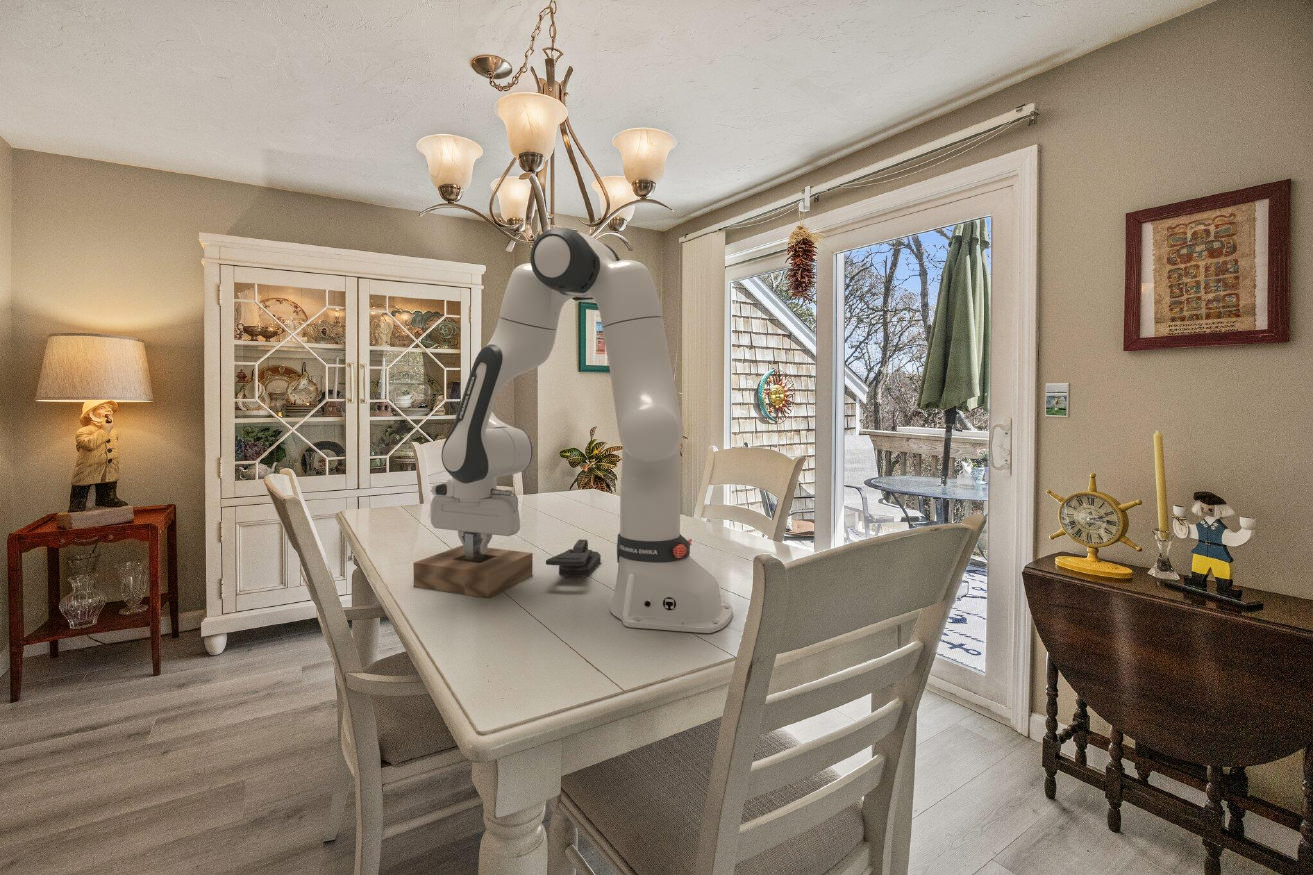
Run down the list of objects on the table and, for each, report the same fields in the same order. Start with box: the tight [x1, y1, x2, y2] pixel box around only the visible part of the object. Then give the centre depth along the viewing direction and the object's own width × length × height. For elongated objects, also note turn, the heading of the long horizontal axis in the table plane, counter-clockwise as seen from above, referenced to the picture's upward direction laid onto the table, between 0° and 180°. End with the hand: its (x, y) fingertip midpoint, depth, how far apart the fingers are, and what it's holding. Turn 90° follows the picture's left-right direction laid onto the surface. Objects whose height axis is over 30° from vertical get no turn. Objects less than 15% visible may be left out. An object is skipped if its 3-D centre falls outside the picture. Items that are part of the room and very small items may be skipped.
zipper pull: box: [545, 539, 602, 579], centre depth 134 cm, size 9×7×25 cm
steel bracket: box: [465, 532, 485, 563], centre depth 128 cm, size 5×4×8 cm
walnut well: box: [413, 544, 534, 599], centre depth 128 cm, size 18×16×5 cm
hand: (475, 552), depth 128 cm, fingers closed on steel bracket, 2 cm apart
